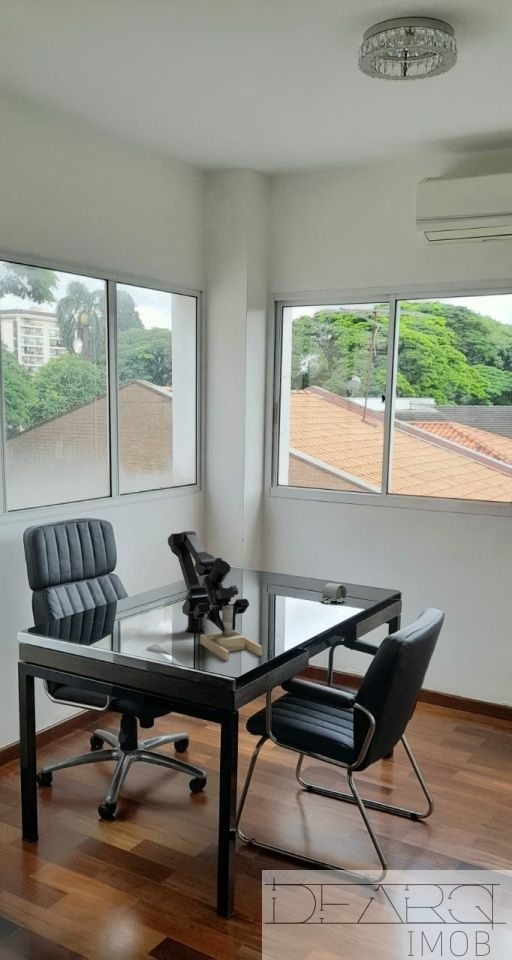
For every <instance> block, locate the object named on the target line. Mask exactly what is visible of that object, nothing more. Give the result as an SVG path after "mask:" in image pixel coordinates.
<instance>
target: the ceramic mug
mask: <svg viewBox="0 0 512 960" xmlns="http://www.w3.org/2000/svg"><path fill="white" fill-rule="evenodd" d="M347 593H348V590H347V587H346V586H345V584H341V583H333V582H331V583H330V582H328V583H326V584H324V586H323V588H322V596H321V597H320V601H321V600H322V599H323V598H324V599H325V598H328V599H329V600H327V599H325V601H333V602H334V600H335V601H337V599H340V598H341V597H342V598H347ZM324 599H323V600H324Z"/></svg>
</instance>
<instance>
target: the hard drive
mask: <svg viewBox="0 0 512 960" xmlns="http://www.w3.org/2000/svg"><path fill="white" fill-rule="evenodd" d="M167 643H168V641H167V642H166V641H159V642H156V643H154V644H151V645H149V646H147V648H146V650H147V651H150V652H154V653H158V654H163V655H168V656H170V657H171V656H172V654H171V653H169V652H168V651H166V650H165V649H164V648H162V647H161V646H160V645H162V644H167Z"/></svg>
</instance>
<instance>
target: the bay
mask: <svg viewBox="0 0 512 960" xmlns="http://www.w3.org/2000/svg"><path fill="white" fill-rule="evenodd" d="M234 631H235V632H237V633H239V634H241V633H240V632H238V631H236V630H234ZM241 635H242V636H244V637H245V649H247V650H249V651H251V652H252V653H254V654H256V655H258V656H259V657H260V656H263V646H262V645H260V643H257V642H255V641H253V640H252V639H250V638H248V637H247V636H245V635H243V634H241ZM199 642H200V645H202V646H203V647H204V648H206V649H207V650H209V651H211V653H213V654H215V655H217V656H218V657H219V658H220V659H222V660H224V661H230V651H228V650H226V649H225V648H223V647H221V646H220V645H218V644H217V643H215V642H214V641H212V640H210V639H209V633H208V634H200V641H199Z"/></svg>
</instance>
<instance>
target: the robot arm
mask: <svg viewBox="0 0 512 960" xmlns="http://www.w3.org/2000/svg"><path fill="white" fill-rule="evenodd" d="M167 544H168V546H169V549H170V551H171V553H173V554H174V555H175V556H176V557H177V559H178V562H179V566H180V569H181V572H182V577H183V579H184V583H185V587H186V590H187V592H186V596H185V598H184V599H185V601H184V603H183V605H182V606H181V609H182V614H184V615H186V616H187V626H186V629H185V632H186V633H204V632H205V630H206V626H205V625H204V621H205V620H204V619H206V620H209V621H210V622H211V623H213V624H214V625H215V626H216V627H217V628H218V630H220V632H224V631H225V629H224V626H223V623H222V617H221V615H220V612H222V607H223V606H232V607H233V627H232V630H233V631H236V617H237V616H236V615H239V614H240V615H241V614H244V613H245V612H246V611H247V609H248V608H249V606H250V602H249V600H248V598H239V599H236V600H235V601H234V603H230V602H232V598H235V596H237V595H238V594H239V590H238V586H237V585H230V586H229V587H223V582H224V581H225V580H226V578H227V576H228V575H229V573H230V572H231V565H230V564H229V563H228V562H227V561H225V560H223V558H222V557H216V558H215V557H214V556H213V555H212V554H210V553H207V551H206V549H205V548H204V547H203V545H202V543H201V541H200V540H199V538H198V537H197V533H196V531H193V530H186V531H185V530H184V531H182V532H176V533H171V534H170V536H168V537H167ZM194 562H195V564H194ZM201 576H202V577H203V576H205V577H204V578H203V582H202V585H201V583H200V581H199V577H201ZM205 615H206V617H205ZM204 617H205V618H204Z"/></svg>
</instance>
